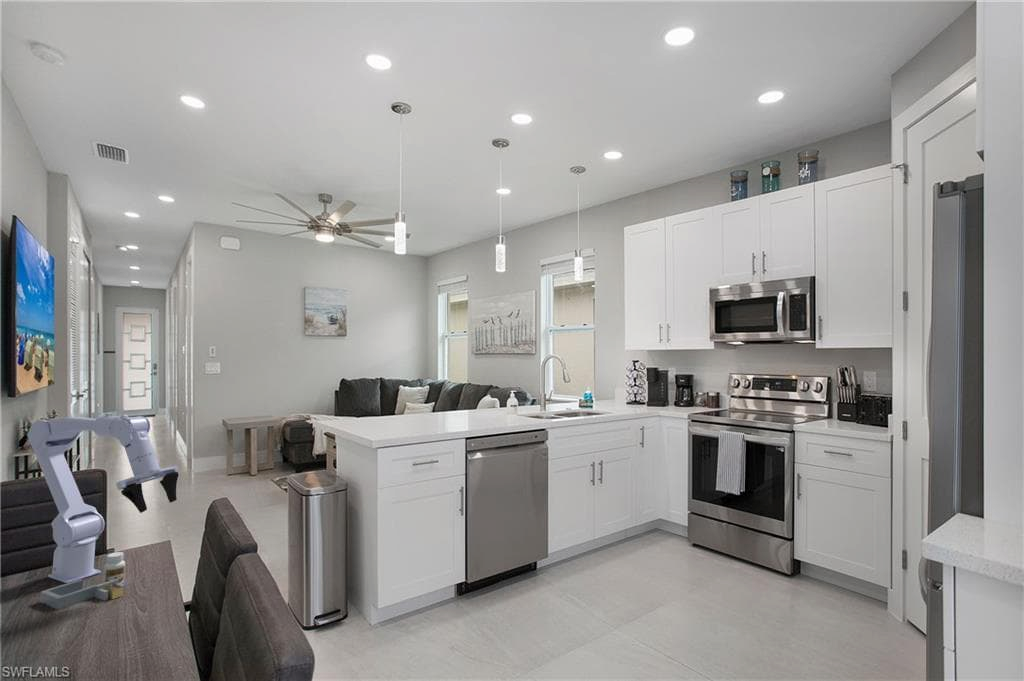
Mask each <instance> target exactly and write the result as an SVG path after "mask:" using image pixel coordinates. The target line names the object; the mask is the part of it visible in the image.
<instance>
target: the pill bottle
mask: <svg viewBox="0 0 1024 681" xmlns="http://www.w3.org/2000/svg"><path fill="white" fill-rule="evenodd" d="M124 555H125V554H124V552H122V551H118V552H117V551H116V552H113V553H112V552H111V553H109V554H107V555H106V562H107V563H105V564H104V566H103V576H102V577H103V578H102V579H103V580H102V583H105V582H108V581H111V580H114V579H119V582H118V583H121V584H124V582H125V572H126V571H125V570H126V561H125V560H124ZM110 586H112V585H110Z"/></svg>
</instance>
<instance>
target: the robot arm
mask: <svg viewBox="0 0 1024 681" xmlns="http://www.w3.org/2000/svg"><path fill="white" fill-rule="evenodd" d="M83 431H84V432H85V431H88V432H91V431H92V432H94V434H95V435H97V436H99V437H109V438H115V439H116V440H118V441H119V443H120V445H121V446H122V447H123V448H124V451H125V454H126V456H127V459H128V463H129V464H130V465H129V466H130V468H131V470H132V474H133V476H132V477H127V478H126V479H123V480H119V481H118V482H116V483H115V486H116V487H117V490H118V491H120V490H121V491H120V493H121V494H122V496H124V497H125V498H126V499H128V500H129V501H130V502H131V503H132V504H133V505H134V506H135V508H136V509H137V510H138V511H139V513H140V514H141V513H144V512H145V511H147V510H148V507H147V503H146V500H145V497H144V493H143V484H144V483H147V482H151V481H153V480H158V479H161V480H160V481H159V484H160V485H161V486H162V488H163V489H164V492H165V493H166V497H167V500H168V502H169V503H173V502H175V501H177V500H178V499H177V485H178V483H177V482H178V478H179V472H180V471H179V470H180V469H179V467H178V465H172V466H167V467H162V468H160V466H159V462H158V459H157V457H156V454H155V451H154V448H153V444H152V442H151V440H150V436H149V432H150V431H151V423H150V420H149V419H148V418H147V417H145V416H142V415H137V416H130V417H129V415H128V414H121V415H115V414H114V413H113V412H112V413H110V412H108V413H105V414H103V415H100V416H98V417H97V418H93V417H83V416H69V417H67V416H66V417H58V418H51V419H37V420H36V421H34V422H32V424H30V427H29V430H28V432H27V439H28V441H29V443H30V445H31V449H32V451H33V453H34V454H35V457H36V459H37V462H38V464H39V467H40V470H41V472H42V475H43V477H44V479H45V482H46V484H47V486H48V489H49V491H50V494H51V496H52V499H53V501H54V503H55V506H56V508H57V511H58V514H57V515H56V516H55V518H54V519H53V520H52V521H51V523H50V524H51V527H52V539H53V541H54V543H56V545H57V546H56V548H55V550H54V551H53V561H52V572H51V574H50V573H49V574H48V575H47V577H48V578H50V579H53V580H56V581H59V582H62V583H64V584H67V583H70V582H74V581H77V580H80V579H82V580H83V579H85V578H89V577H92V576H95V575H98V574H101V572H102V571H101V570H99V569H95V555H96V554H95V551H96V541H97V540H99V536H100V535H101V534H102V533H103V532H104V530H105V524H106V522H105V519H104V517H103V516H102V515H101V514H100V513H99V512H98V510H97V508H96V507H94V506H92V505H89V504H87V503H85V502H84V499H83V497H82V495H81V493H80V490H79V488H78V485H77V483H76V480H75V478H74V476H73V474H72V471H71V468H70V467H69V464H68V462H67V460H66V457H65V452H66V451H67V450H69V449H70V448H71V447H72V445H73V444H74V442H75V441H76V440H77V439H78V437H79V435H81V434H80V433H82V432H83Z"/></svg>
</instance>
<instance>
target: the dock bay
mask: <svg viewBox="0 0 1024 681" xmlns="http://www.w3.org/2000/svg"><path fill="white" fill-rule="evenodd" d="M118 582H119V579H114V580H111V581H108V582H105V583H103V582H102V583H100V584H94V585H91V586H88V587H84V585H83V584H84V579H83V578H82V579H79V580H76V581H72V582H69V583H64V584H61V585H57V586H55V587H52V588H48V589H46V590H42V591H40V595H39V596H40V597H39V602H40V601H41V602H43V603H45V604H47V605H46V606H48V605H49V606H48V607H50V606H51V607H50V608H53V609H55V610H59V609H63V608H66V607H69V606H72V605H74V604H77V603H80V602H84V601H86V600H89V599H92V598H96V599H99V600H102V601H107V600H108V599H109V596H108V592H109V591H107V590H105V589H102V588H103V587H106V586H109V585H112V586H113V587H116V588H121V587H122V588H124V589H123V595H124V594H126V584H124V583H122V584H121V583H118ZM43 603H42V604H43ZM45 604H44V605H45Z"/></svg>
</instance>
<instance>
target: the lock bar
mask: <svg viewBox="0 0 1024 681" xmlns="http://www.w3.org/2000/svg"><path fill="white" fill-rule="evenodd" d="M102 589H105V590H107V591H109V592H108V597H109V598H110V600H114V599H116V598H117V599H118V598H120V597H122V596H124V594H123V589H124V588H122V587H121V588H116V587H113V586H110V585H109V586H106V587H103V588H102Z"/></svg>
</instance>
